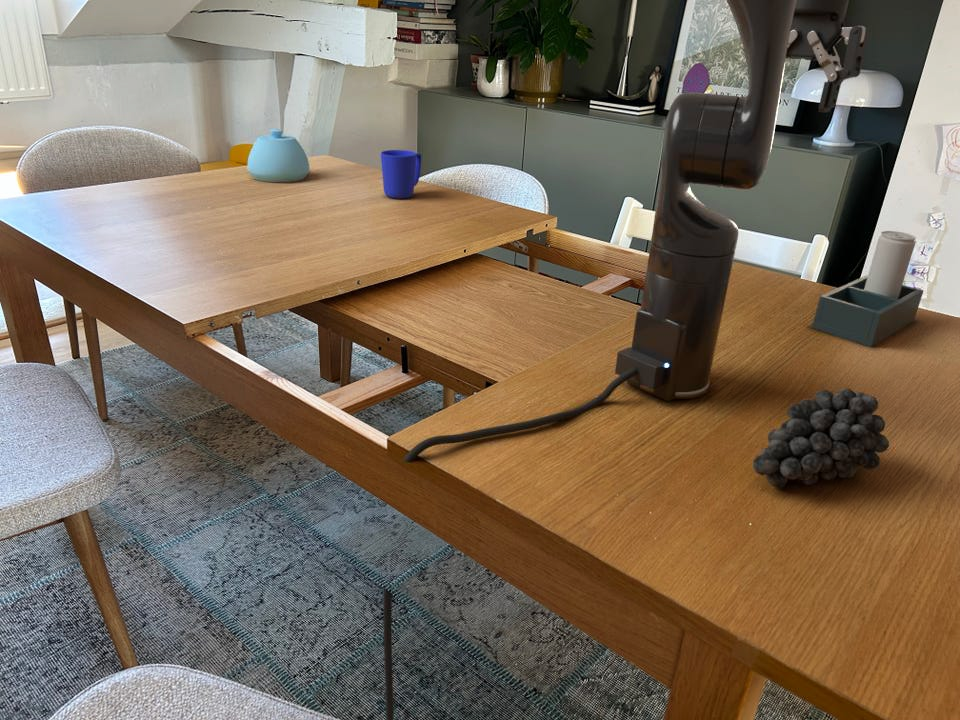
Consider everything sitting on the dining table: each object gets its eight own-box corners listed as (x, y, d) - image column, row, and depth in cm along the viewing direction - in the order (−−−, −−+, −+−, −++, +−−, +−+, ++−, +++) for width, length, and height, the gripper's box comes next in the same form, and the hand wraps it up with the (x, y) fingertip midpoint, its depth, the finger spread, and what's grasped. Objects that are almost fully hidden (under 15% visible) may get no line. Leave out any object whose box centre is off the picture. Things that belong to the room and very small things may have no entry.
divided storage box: (913, 321, 113) (923, 290, 111) (871, 347, 103) (881, 313, 101) (857, 304, 119) (865, 275, 117) (811, 327, 108) (819, 296, 106)
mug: (432, 193, 176) (433, 151, 172) (401, 202, 167) (401, 157, 163) (405, 188, 180) (405, 146, 176) (373, 196, 171) (373, 152, 167)
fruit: (787, 418, 64) (904, 386, 70) (720, 403, 71) (830, 376, 77) (792, 512, 65) (906, 474, 71) (725, 488, 73) (833, 455, 78)
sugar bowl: (321, 175, 189) (319, 129, 184) (286, 186, 176) (283, 136, 172) (273, 169, 194) (269, 123, 189) (235, 178, 181) (231, 130, 176)
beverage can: (857, 312, 112) (879, 235, 107) (859, 303, 116) (880, 228, 110) (893, 319, 110) (917, 241, 105) (893, 309, 114) (916, 234, 109)
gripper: (755, -29, 95) (731, 103, 102) (868, -30, 86) (833, 116, 93) (783, -25, 100) (758, 101, 107) (892, -25, 90) (857, 113, 97)
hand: (793, 107), depth 99 cm, fingers open, 8 cm apart
